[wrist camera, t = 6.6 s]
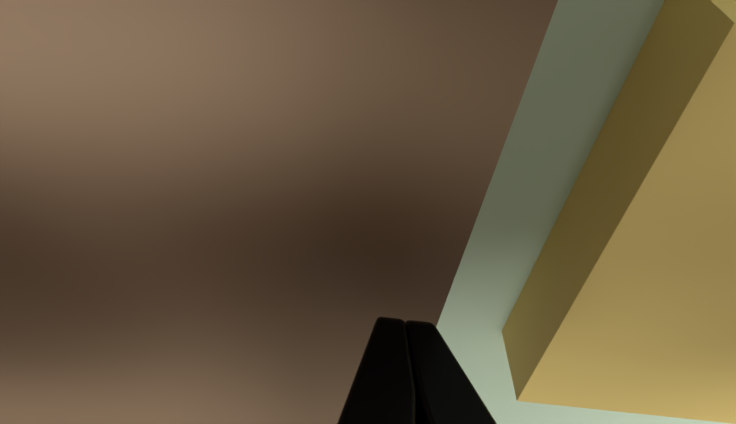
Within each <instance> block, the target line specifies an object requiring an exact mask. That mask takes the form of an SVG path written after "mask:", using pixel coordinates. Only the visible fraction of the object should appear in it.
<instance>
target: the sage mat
mask: <svg viewBox="0 0 736 424" xmlns="http://www.w3.org/2000/svg"><path fill="white" fill-rule="evenodd" d="M664 1H665V0H558V2H557V4H556V7H555V10H554V13H553V15H552V18H551V21H550V23H549V26H548V29H547V31H546V34H545V37H544V39H543V42H542V45H541V47H540V50H539V53H538V55H537V58H536V61H535V63H534V66H533V69H532V72H531V74H530V77H529V80H528V82H527V85H526V88H525V90H524V93H523V96H522V98H521V101H520V104H519V106H518V109H517V112H516V114H515V117H514V120H513V123H512V125H511V128H510V131H509V133H508V136H507V139H506V141H505V144H504V147H503V149H502V152H501V155H500V157H499V160H498V163H497V165H496V168H495V171H494V173H493V176H492V179H491V182H490V184H489V187H488V190H487V192H486V195H485V198H484V200H483V203H482V206H481V208H480V211H479V214H478V216H477V219H476V222H475V224H474V227H473V230H472V232H471V235H470V238H469V241H468V243H467V246H466V249H465V251H464V254H463V257H462V259H461V262H460V265H459V267H458V270H457V273H456V275H455V278H454V281H453V283H452V286H451V289H450V291H449V294H448V297H447V300H446V302H445V305H444V308H443V310H442V313H441V316H440V318H439V321H438V324H437V326H436V328H437V329H438V331H439V332H440V334H441V336H442V337H443V339H444V340H445V342H446V344H447V345H448V347H449V348H450V350H451V352H452V353H453V355H454V356H455V358H456V360H457V361H458V363H459V364H460V366H461V367H462V369H463V371H464V372H465V374H466V375H467V377H468V379H469V380H470V382H471V383H472V385H473V387H474V388H475V390H476V391H477V393H478V395H479V396H480V398H481V399H482V401H483V402H484V404H485V406H486V407H487V409H488V410H489V412H490V414H491V415H492V417H493V418H494V420H495V422H496V423H497V424H732V423H722V422H713V421H703V420H693V419H684V418H674V417H665V416H655V415H646V414H636V413H626V412H617V411H607V410H598V409H588V408H579V407H569V406H560V405H550V404H540V403H531V402H521V401H517V400H516V395H515V390H514V386H513V381H512V377H511V372H510V367H509V363H508V358H507V354H506V349H505V344H504V340H503V335H502V329H503V327H504V325H505V323H506V321H507V319H508V317H509V315H510V313H511V311H512V309H513V307H514V305H515V303H516V301H517V299H518V297H519V295H520V293H521V291H522V289H523V287H524V285H525V283H526V281H527V279H528V277H529V275H530V273H531V271H532V269H533V267H534V264H535V262H536V260H537V258H538V256H539V254H540V252H541V250H542V248H543V246H544V244H545V242H546V240H547V238H548V236H549V234H550V232H551V230H552V228H553V226H554V224H555V222H556V220H557V218H558V216H559V214H560V212H561V210H562V208H563V206H564V204H565V202H566V200H567V198H568V196H569V193H570V191H571V189H572V187H573V185H574V183H575V181H576V179H577V177H578V175H579V173H580V171H581V169H582V167H583V165H584V163H585V161H586V159H587V157H588V155H589V153H590V151H591V149H592V147H593V145H594V143H595V141H596V139H597V137H598V135H599V133H600V131H601V129H602V127H603V125H604V122H605V120H606V118H607V116H608V114H609V112H610V110H611V108H612V106H613V104H614V102H615V100H616V98H617V96H618V94H619V92H620V90H621V88H622V86H623V84H624V82H625V80H626V78H627V76H628V74H629V72H630V70H631V68H632V66H633V64H634V62H635V60H636V58H637V56H638V54H639V51H640V49H641V47H642V45H643V43H644V41H645V39H646V37H647V35H648V33H649V31H650V29H651V27H652V25H653V23H654V21H655V19H656V17H657V15H658V13H659V11H660V9H661V7H662V5H663V3H664Z"/></svg>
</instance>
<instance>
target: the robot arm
mask: <svg viewBox="0 0 736 424" xmlns="http://www.w3.org/2000/svg"><path fill="white" fill-rule="evenodd" d="M337 424H497V423H496V422H495V420H494V418H493V417H492V415H491V414H490V412H489V410H488V409H487V407H486V406H485V404H484V402H483V401H482V399H481V398H480V396H479V395H478V393H477V391H476V390H475V388H474V387H473V385H472V383H471V382H470V380H469V379H468V377H467V375H466V374H465V372H464V371H463V369H462V367H461V366H460V364H459V363H458V361H457V360H456V358H455V356H454V355H453V353H452V352H451V350H450V348H449V347H448V345H447V344H446V342H445V340H444V339H443V337H442V336H441V334H440V332H439V331H438V329H437V328H436V326H435V325H434V324H432V323H430V322H424V321H415V320H408V321H406V322H404V321H403V320H402V319H398V318H389V317H378V318H377V320H376V322H375V324H374V327H373V330H372V332H371V335H370V338H369V340H368V343H367V346H366V348H365V351H364V354H363V356H362V359H361V361H360V364H359V367H358V369H357V372H356V375H355V377H354V380H353V383H352V385H351V388H350V391H349V393H348V396H347V399H346V401H345V404H344V407H343V409H342V412H341V415H340V417H339V420H338V423H337Z"/></svg>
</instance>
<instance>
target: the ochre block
mask: <svg viewBox="0 0 736 424" xmlns="http://www.w3.org/2000/svg"><path fill="white" fill-rule="evenodd" d="M502 335H503V340H504V344H505V349H506V354H507V358H508V363H509V367H510V372H511V377H512V381H513V386H514V390H515V395H516V400H517V401H521V402H531V403H540V404H550V405H560V406H569V407H579V408H588V409H598V410H607V411H617V412H626V413H636V414H646V415H655V416H665V417H674V418H684V419H693V420H703V421H713V422H722V423H732V424H736V0H665V1H664V3H663V5H662V7H661V9H660V11H659V13H658V15H657V17H656V19H655V21H654V23H653V25H652V27H651V29H650V31H649V33H648V35H647V37H646V39H645V41H644V43H643V45H642V47H641V49H640V51H639V54H638V56H637V58H636V60H635V62H634V64H633V66H632V68H631V70H630V72H629V74H628V76H627V78H626V80H625V82H624V84H623V86H622V88H621V90H620V92H619V94H618V96H617V98H616V100H615V102H614V104H613V106H612V108H611V110H610V112H609V114H608V116H607V118H606V120H605V122H604V125H603V127H602V129H601V131H600V133H599V135H598V137H597V139H596V141H595V143H594V145H593V147H592V149H591V151H590V153H589V155H588V157H587V159H586V161H585V163H584V165H583V167H582V169H581V171H580V173H579V175H578V177H577V179H576V181H575V183H574V185H573V187H572V189H571V191H570V193H569V196H568V198H567V200H566V202H565V204H564V206H563V208H562V210H561V212H560V214H559V216H558V218H557V220H556V222H555V224H554V226H553V228H552V230H551V232H550V234H549V236H548V238H547V240H546V242H545V244H544V246H543V248H542V250H541V252H540V254H539V256H538V258H537V260H536V262H535V264H534V267H533V269H532V271H531V273H530V275H529V277H528V279H527V281H526V283H525V285H524V287H523V289H522V291H521V293H520V295H519V297H518V299H517V301H516V303H515V305H514V307H513V309H512V311H511V313H510V315H509V317H508V319H507V321H506V323H505V325H504V327H503V329H502Z"/></svg>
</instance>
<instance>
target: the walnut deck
mask: <svg viewBox="0 0 736 424" xmlns="http://www.w3.org/2000/svg"><path fill="white" fill-rule="evenodd" d="M557 2H558V0H0V424H337V423H338V420H339V417H340V415H341V412H342V409H343V407H344V404H345V401H346V399H347V396H348V393H349V391H350V388H351V385H352V383H353V380H354V377H355V375H356V372H357V369H358V367H359V364H360V361H361V359H362V356H363V354H364V351H365V348H366V346H367V343H368V340H369V338H370V335H371V332H372V330H373V327H374V324H375V322H376V320H377V318H378V317H389V318H398V319H402V320H403V321H404V322H406V321H408V320H415V321H424V322H430V323H432V324H434V325H435V326H437V324H438V321H439V318H440V316H441V313H442V310H443V308H444V305H445V302H446V300H447V297H448V294H449V291H450V289H451V286H452V283H453V281H454V278H455V275H456V273H457V270H458V267H459V265H460V262H461V259H462V257H463V254H464V251H465V249H466V246H467V243H468V241H469V238H470V235H471V232H472V230H473V227H474V224H475V222H476V219H477V216H478V214H479V211H480V208H481V206H482V203H483V200H484V198H485V195H486V192H487V190H488V187H489V184H490V182H491V179H492V176H493V173H494V171H495V168H496V165H497V163H498V160H499V157H500V155H501V152H502V149H503V147H504V144H505V141H506V139H507V136H508V133H509V131H510V128H511V125H512V123H513V120H514V117H515V114H516V112H517V109H518V106H519V104H520V101H521V98H522V96H523V93H524V90H525V88H526V85H527V82H528V80H529V77H530V74H531V72H532V69H533V66H534V63H535V61H536V58H537V55H538V53H539V50H540V47H541V45H542V42H543V39H544V37H545V34H546V31H547V29H548V26H549V23H550V21H551V18H552V15H553V13H554V10H555V7H556V4H557Z"/></svg>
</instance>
